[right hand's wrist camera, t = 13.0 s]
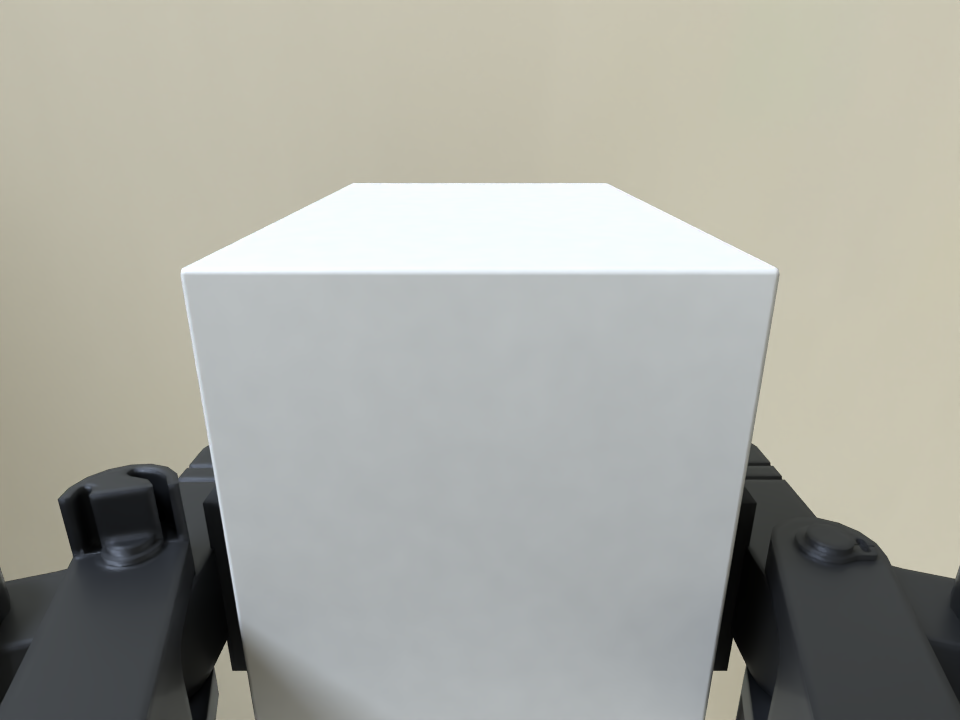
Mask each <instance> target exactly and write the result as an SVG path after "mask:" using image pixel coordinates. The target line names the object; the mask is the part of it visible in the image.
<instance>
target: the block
mask: <svg viewBox="0 0 960 720" xmlns="http://www.w3.org/2000/svg"><path fill="white" fill-rule="evenodd" d="M181 280H182V286H183V292H184V298H185V304H186V310H187V316H188V322H189V328H190V334H191V340H192V346H193V351H194V357H195V363H196V369H197V375H198V381H199V387H200V393H201V399H202V405H203V411H204V417H205V423H206V429H207V435H208V441H209V447H210V453H211V459H212V465H213V471H214V477H215V483H216V489H217V495H218V500H219V506H220V512H221V518H222V524H223V530H224V536H225V542H226V548H227V554H228V560H229V566H230V572H231V578H232V584H233V590H234V596H235V602H236V608H237V614H238V620H239V626H240V632H241V638H242V643H243V649H244V655H245V661H246V667H247V673H248V679H249V685H250V691H251V697H252V703H253V709H254V715H255V720H705V715H706V709H707V703H708V698H709V692H710V686H711V680H712V674H713V668H714V662H715V656H716V650H717V644H718V638H719V632H720V626H721V620H722V614H723V608H724V602H725V596H726V590H727V584H728V578H729V572H730V566H731V561H732V555H733V549H734V543H735V537H736V531H737V525H738V519H739V513H740V507H741V501H742V495H743V489H744V483H745V477H746V471H747V465H748V459H749V453H750V447H751V441H752V435H753V430H754V424H755V418H756V412H757V406H758V400H759V394H760V388H761V382H762V376H763V370H764V364H765V358H766V352H767V346H768V340H769V334H770V328H771V322H772V316H773V310H774V304H775V298H776V293H777V287H778V281H779V270H778V268H776V267H774V266H772V265H770V264H768V263H766V262H764V261H762V260H760V259H758V258H756V257H754V256H752V255H750V254H748V253H746V252H744V251H742V250H740V249H738V248H736V247H734V246H732V245H730V244H728V243H726V242H724V241H722V240H720V239H718V238H716V237H714V236H712V235H710V234H708V233H706V232H704V231H702V230H700V229H698V228H696V227H694V226H692V225H690V224H688V223H686V222H684V221H682V220H680V219H678V218H676V217H674V216H672V215H669V214H667V213H665V212H663V211H661V210H659V209H657V208H655V207H653V206H651V205H649V204H647V203H645V202H643V201H641V200H639V199H637V198H635V197H633V196H631V195H629V194H627V193H625V192H623V191H621V190H619V189H617V188H615V187H613V186H611V185H609V184H607V183H353V184H351V185H349V186H347V187H345V188H343V189H341V190H339V191H337V192H335V193H333V194H331V195H329V196H327V197H325V198H323V199H321V200H319V201H317V202H315V203H313V204H311V205H309V206H307V207H305V208H303V209H301V210H299V211H297V212H295V213H293V214H291V215H289V216H287V217H285V218H283V219H281V220H279V221H277V222H275V223H273V224H271V225H268V226H266V227H264V228H262V229H260V230H258V231H256V232H254V233H252V234H250V235H248V236H246V237H244V238H242V239H240V240H238V241H236V242H234V243H232V244H230V245H228V246H226V247H224V248H222V249H220V250H218V251H216V252H214V253H212V254H210V255H208V256H206V257H204V258H202V259H200V260H198V261H196V262H194V263H192V264H190V265H188V266H186V267H184V268H182V270H181Z"/></svg>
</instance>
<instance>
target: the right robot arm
mask: <svg viewBox="0 0 960 720" xmlns="http://www.w3.org/2000/svg"><path fill="white" fill-rule="evenodd" d="M58 502H59V506H60V509H61V513H62V517H63V520H64V524H65V528H66V532H67V535H68V539H69V543H70V546H71V550H72V554H73V559H72V561H71V563H70V565H69V567H68V569H65V570H61V571H57V572H52V573H47V574H42V575H37V576H32V577H27V578H22V579H17V580H11V581H6V582H5V581H4V578H3V575H2V572H1V568H0V720H216V712H217V704H218V696H219V693H218V686H217V680H216V674H215V669H214V665H215V663H216V661H217V659H218V657H219V655H220V653H221V651H222V649H223V647H224V645H225V643H226V641H227V643H228V648H229V654H230V660H231V665H232V671H247V667H246V661H245V655H244V649H243V643H242V638H241V632H240V626H239V620H238V614H237V608H236V602H235V596H234V590H233V584H232V578H231V572H230V566H229V560H228V554H227V548H226V542H225V536H224V530H223V524H222V518H221V512H220V506H219V500H218V495H217V489H216V483H215V477H214V471H213V465H212V459H211V453H210V447H209V446H207V447H205V448H204V449H203V450H202V451H201V452H200V453H199V454H198V456H197V457H196V458H195V459H194V460H193V462H192V463H191V464H190V467H189V468H187V469H186V470H185V471H184V472H183V473H182V475H181V476H180V477H179V478H178V475H177V473H175V472H174V471H173V470H171V469H170V468H168V467H165V466H160V465H155V464H137V465H128V466H123V467H118V468H113V469H108V470H106V471H103V472H100V473H97V474H95V475H92V476H89V477H87V478H85V479H83V480H82V481H80V482H78V483H76V484H75V485H73V486H71V487H70V488H68V489H67V490H66V491H65V493H64V494H63V495H62V496H61V497H60V498H59V499H58ZM733 638H734V640H735V642H736V644H737V647H738V649H739V651H740V653H741V655H742V657H743V659H744V661H745V663H746V669H745V674H744V680H743V685H742V690H741V695H740V700H739V706H738V711H737V716H736V720H960V567H959V570H958V573H957V576H956V579H953V578H948V577H943V576H938V575H933V574H928V573H922V572H917V571H912V570H907V569H902V568H899V567H895V566H891V564H890V562H889V560H888V558H887V556H886V555H885V553H884V552H883V551H882V550H881V549H880V547H879V546H878V545H877V544H876V543H875V542H874V541H872V540H871V539H869V538H868V537H866V536H865V535H863V534H862V533H860V532H859V531H857V530H854V529H852V528H849V527H847V526H845V525H842V524H840V523H837V522H833V521H829V520H825V519H820V518H817V517H816V516H815V515H814V514H813V512H812V511H811V510H810V509H809V508H808V507H807V505H806V504H805V503H804V502H803V501H802V500H801V498H800V497H799V496H798V495H797V494H796V492H795V491H794V490H793V489H792V488H791V487H790V485H789V484H788V483H787V482H786V481H785V480H782V476H781V475H780V474H779V472H778V471H777V470H776V469H775V468H774V466H771V465H770V462H769V461H768V459H767V458H766V457H765V456H764V455H763V453H762V452H761V451H760V450H759V449H758V448H757V446H755V445H753V444H752V443H751V447H750V453H749V459H748V465H747V471H746V477H745V483H744V489H743V495H742V501H741V507H740V513H739V519H738V525H737V531H736V537H735V543H734V549H733V555H732V561H731V566H730V572H729V578H728V584H727V590H726V596H725V602H724V608H723V614H722V620H721V626H720V632H719V638H718V644H717V650H716V656H715V662H714V668H713V671H727V668H728V663H729V657H730V652H731V646H732V640H733Z"/></svg>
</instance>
